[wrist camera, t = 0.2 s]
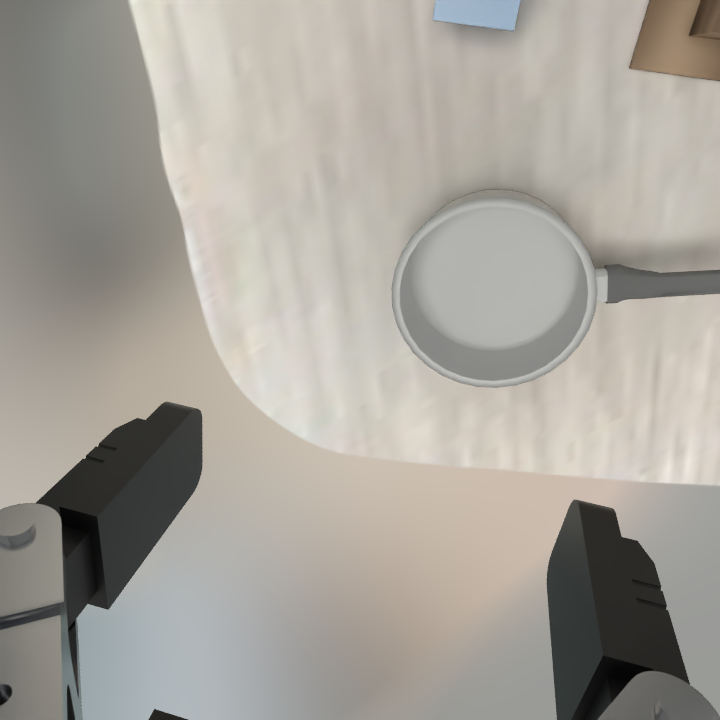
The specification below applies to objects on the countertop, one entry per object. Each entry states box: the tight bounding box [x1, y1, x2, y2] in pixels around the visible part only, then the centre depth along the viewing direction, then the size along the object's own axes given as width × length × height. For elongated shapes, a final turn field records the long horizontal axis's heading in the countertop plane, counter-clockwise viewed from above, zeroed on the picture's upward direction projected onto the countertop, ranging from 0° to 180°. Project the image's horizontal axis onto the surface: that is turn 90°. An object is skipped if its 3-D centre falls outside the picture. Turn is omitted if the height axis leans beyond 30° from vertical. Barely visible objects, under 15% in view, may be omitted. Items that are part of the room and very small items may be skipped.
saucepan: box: [392, 190, 720, 388], centre depth 35 cm, size 12×20×6 cm, turn 99°
